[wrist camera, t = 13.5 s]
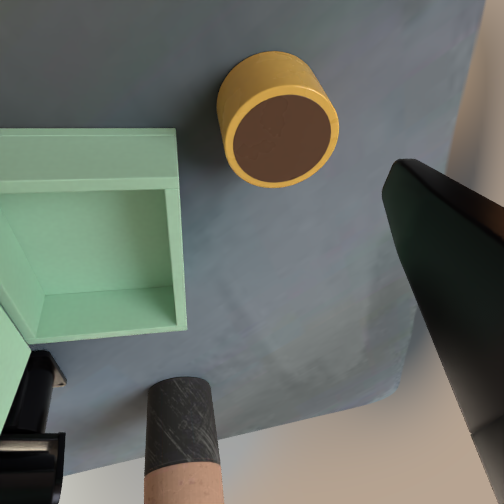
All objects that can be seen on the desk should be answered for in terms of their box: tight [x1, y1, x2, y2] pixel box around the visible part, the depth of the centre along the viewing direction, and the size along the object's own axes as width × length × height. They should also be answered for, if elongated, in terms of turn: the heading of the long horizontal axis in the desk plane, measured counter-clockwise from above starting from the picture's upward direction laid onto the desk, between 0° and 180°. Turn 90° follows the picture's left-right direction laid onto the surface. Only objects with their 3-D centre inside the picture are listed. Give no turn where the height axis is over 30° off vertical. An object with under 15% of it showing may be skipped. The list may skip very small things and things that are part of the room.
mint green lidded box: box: [0, 128, 187, 345], centre depth 23 cm, size 10×13×4 cm
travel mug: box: [144, 377, 224, 504], centre depth 38 cm, size 8×8×20 cm
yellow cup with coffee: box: [217, 51, 339, 188], centre depth 19 cm, size 5×5×4 cm
